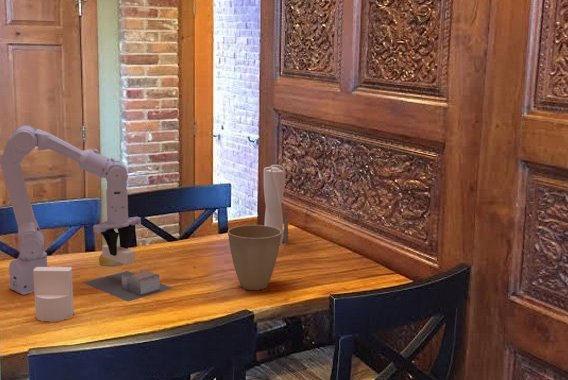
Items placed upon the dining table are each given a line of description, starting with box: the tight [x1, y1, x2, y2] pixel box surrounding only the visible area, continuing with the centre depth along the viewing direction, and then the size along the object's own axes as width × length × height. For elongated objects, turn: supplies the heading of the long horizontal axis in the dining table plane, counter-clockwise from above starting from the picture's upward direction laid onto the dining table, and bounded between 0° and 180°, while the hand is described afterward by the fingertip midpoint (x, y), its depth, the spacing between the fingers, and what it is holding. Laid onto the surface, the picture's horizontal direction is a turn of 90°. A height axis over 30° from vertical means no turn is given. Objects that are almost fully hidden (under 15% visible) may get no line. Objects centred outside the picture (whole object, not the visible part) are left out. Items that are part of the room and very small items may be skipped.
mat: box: [82, 270, 173, 302], centre depth 208 cm, size 15×21×1 cm
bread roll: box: [98, 253, 124, 267], centre depth 228 cm, size 8×9×4 cm
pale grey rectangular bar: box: [101, 244, 136, 265], centre depth 209 cm, size 11×3×3 cm, turn 49°
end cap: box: [122, 269, 161, 296], centre depth 204 cm, size 8×8×4 cm
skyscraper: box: [263, 164, 289, 248], centre depth 250 cm, size 8×8×28 cm
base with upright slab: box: [33, 266, 75, 323], centre depth 185 cm, size 9×9×12 cm
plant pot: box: [227, 224, 282, 291], centre depth 209 cm, size 15×15×16 cm
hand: (118, 253), depth 209 cm, fingers closed on pale grey rectangular bar, 3 cm apart
